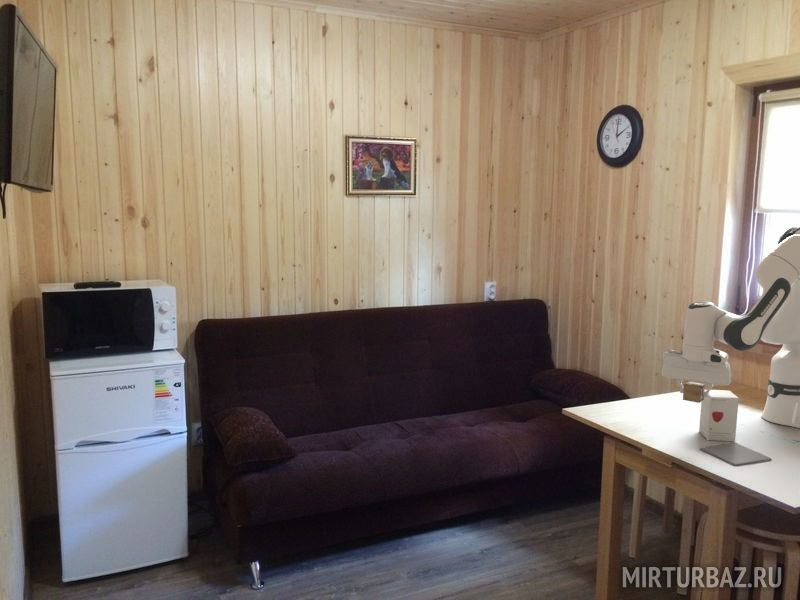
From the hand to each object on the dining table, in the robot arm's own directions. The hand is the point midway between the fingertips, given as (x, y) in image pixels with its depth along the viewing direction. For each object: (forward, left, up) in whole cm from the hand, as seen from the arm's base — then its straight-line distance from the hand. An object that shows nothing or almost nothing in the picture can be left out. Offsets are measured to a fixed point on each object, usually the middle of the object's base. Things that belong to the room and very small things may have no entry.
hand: (694, 394), depth 211 cm
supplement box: (-12, -5, -17) cm, 21 cm away
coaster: (-9, +11, -16) cm, 21 cm away
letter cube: (0, 0, -2) cm, 2 cm away
